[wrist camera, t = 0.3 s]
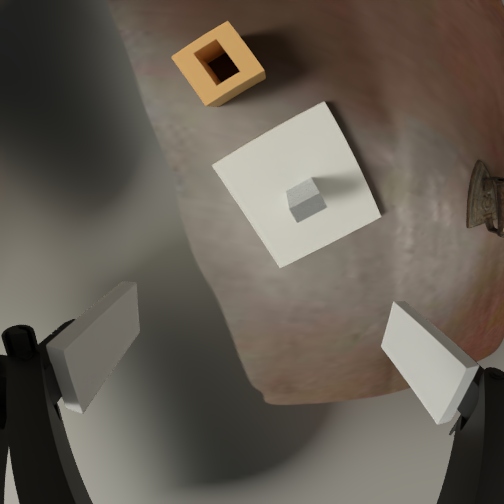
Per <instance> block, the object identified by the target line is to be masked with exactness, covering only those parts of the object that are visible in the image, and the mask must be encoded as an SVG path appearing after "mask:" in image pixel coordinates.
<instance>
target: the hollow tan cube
mask: <svg viewBox="0 0 504 504" xmlns="http://www.w3.org/2000/svg"><path fill="white" fill-rule="evenodd" d="M224 53H227V54H228V55H229V57H230V58H231V59H232V61H233V62H234V64H235V65H236V66H237V68H238V69H239V71H240V72H238V73H237V74H235V75H233V76H232V77H230V78H228V79H227V80H225V81H224V82H222V83H221V81H220V80H219V79H218V77H217V76H216V74H215V73H214V72H213V70H212V69H211V67H210V66H209V65H208V63H209V62H211V61H213V60H214V59H216V58H217V57H219V56H221V55H222V54H224ZM171 58H172V59H173V60H174V62H175V63H176V65H177V66H178V67H179V69H180V70H181V72H182V73H183V74H184V76H185V77H186V79H187V80H188V81H189V83H190V84H191V86H192V87H193V88H194V90H195V91H196V93H197V94H198V96H199V97H200V98H201V100H202V101H203V103H204V104H205V106H211V107H219V106H221V105H222V104H224V103H225V102H227V101H229V100H230V99H232V98H233V97H235V96H237V95H238V94H240V93H242V92H243V91H245V90H247V89H248V88H250V87H252V86H254V85H255V84H257V83H259V82H261V81H263V80H264V79H266V76H265V70H264V69H263V67H262V66H261V65H260V63H259V62H258V60H257V59H256V58H255V56H254V55H253V53H252V52H251V51H250V49H249V48H248V47H247V45H246V44H245V43H244V41H243V40H242V39H241V37H240V36H239V35H238V33H237V32H236V31H235V30H234V28H233V27H232V26H231V24H230V23H229V22H228V21H227V22H225V23H223V24H221V25H220V26H218V27H216V28H215V29H213V30H211V31H210V32H208V33H206V34H205V35H203V36H202V37H200V38H198V39H197V40H195V41H194V42H192V43H191V44H189V45H188V46H186V47H185V48H183V49H182V50H180V51H179V52H178V53H176V54H175V55H173V56H172V57H171Z"/></svg>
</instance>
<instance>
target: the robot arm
mask: <svg viewBox="0 0 504 504" xmlns="http://www.w3.org/2000/svg"><path fill="white" fill-rule="evenodd" d="M139 332H140V328H139V317H138V302H137V283H132V282H124V281H123V282H122V283H120V284H119V285H118V286H116V287H115V288H114V289H113V290H111V291H110V292H109V293H108V294H107V295H105V296H104V297H103V298H102V299H100V300H99V301H98V302H97V303H95V304H94V305H93V306H92V307H90V308H89V309H88V310H87V311H85V312H84V313H83V314H82V315H81V316H79V317H78V318H77V319H72V320H70V321H68V322H65V323H64V324H62V325H61V326H60V327H59V328H58V329H57V330H55V331H54V332H53V333H52V334H50V335H49V336H48V337H47V338H46V339H44V340H43V341H42V342H41V343H40V344H37V340H36V336H35V332H34V329H33V328H32V327H30V326H27V325H16V326H12V327H10V328H7V329H6V330H5V331H4V332H3V333H2V340H3V343H4V346H5V349H6V353H7V356H6V355H0V504H4V487H5V473H6V464H7V455H8V448H9V449H10V457H11V464H12V470H13V475H14V481H15V486H16V490H17V494H18V499H19V503H20V504H93V503H92V501H91V499H90V497H89V495H88V492H87V490H86V488H85V485H84V483H83V480H82V478H81V476H80V473H79V470H78V468H77V465H76V462H75V459H74V456H73V454H72V451H71V448H70V445H69V441H68V439H67V435H66V431H65V428H64V424H63V420H62V417H61V413H60V409H59V406H58V404H57V402H58V401H59V399H60V398H61V397H62V398H63V400H64V403H65V406H66V408H68V409H71V410H73V411H76V412H79V413H82V414H83V413H84V412H85V410H86V409H87V407H88V406H89V404H90V403H91V401H92V400H93V398H94V397H95V395H96V394H97V392H98V391H99V389H100V388H101V386H102V385H103V383H104V382H105V381H106V379H107V378H108V376H109V375H110V373H111V372H112V370H113V369H114V368H115V366H116V365H117V363H118V362H119V360H120V359H121V357H122V356H123V355H124V353H125V352H126V350H127V349H128V348H129V346H130V345H131V343H132V342H133V341H134V339H135V338H136V336H137V335H138V334H139ZM381 347H382V349H383V350H384V351H385V352H386V354H387V355H388V356H389V358H390V359H391V361H392V362H393V363H394V365H395V366H396V367H397V369H398V370H399V371H400V373H401V374H402V375H403V377H404V378H405V380H406V381H407V382H408V384H409V385H410V386H411V388H412V389H413V391H414V392H415V393H416V395H417V396H418V398H419V399H420V400H421V402H422V403H423V405H424V406H425V408H426V409H427V411H428V412H429V413H430V415H431V416H432V418H433V419H434V421H435V422H436V424H437V425H438V424H442V423H445V422H448V421H451V419H452V417H453V416H454V414H455V412H456V411H457V410H458V411H459V412H460V413H461V415H460V417H459V418H458V420H457V422H456V423H455V425H454V427H453V428H452V430H451V431H450V433H449V435H451V434H452V433H453V432H454V431H455V435H454V441H453V447H452V451H451V456H450V460H449V464H448V468H447V472H446V476H445V479H444V483H443V486H442V490H441V492H440V496H439V499H438V502H437V504H504V372H503V371H501V370H499V369H497V368H492V367H489V368H486V369H485V370H484V369H483V368H482V367H481V366H480V365H479V364H478V363H477V362H476V361H475V360H473V359H472V358H471V357H470V356H468V354H467V353H466V352H464V351H463V350H462V349H461V348H460V347H459V346H458V345H456V344H455V343H454V342H453V341H452V340H450V339H449V338H448V337H447V336H446V335H445V334H443V333H442V332H441V331H440V330H439V329H438V328H436V327H435V326H434V325H433V324H432V323H431V322H429V321H428V320H427V319H426V318H425V317H423V316H422V315H421V314H420V313H419V312H417V311H416V310H415V309H414V308H412V307H411V306H410V305H409V304H408V303H406V302H405V301H393V305H392V309H391V313H390V317H389V320H388V324H387V328H386V331H385V335H384V338H383V342H382V345H381Z"/></svg>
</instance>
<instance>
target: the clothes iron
mask: <svg viewBox="0 0 504 504" xmlns="http://www.w3.org/2000/svg"><path fill="white" fill-rule="evenodd" d="M493 180H494V181H495V183H496V184H497V200H498V229H496V228H495V227H494V225H493V221H492V220H494V219H497V207H496V197H495V191H494V187H493V183H492V181H493ZM466 222H467V224H466V225H467V228H472V227H475V226H478V225H481V224H484V223H486V227H487V229H488V231H490V232H493V233H496V234H497V235H498V236H500V237H504V178H500V177H492V178H491V177H490V174H489V172H488V170H487V168H486V167H485V165H484V164H483V163H482V162H481V161H480V160H478V161H477V162H476V164H475V167H474V169H473V172H472V176H471V180H470V186H469V192H468V200H467V221H466Z"/></svg>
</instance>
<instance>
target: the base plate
mask: <svg viewBox="0 0 504 504" xmlns="http://www.w3.org/2000/svg"><path fill="white" fill-rule="evenodd" d="M212 166H213V168H214V169H215V171H216V172H217V174H218V175H219V177H220V178H221V180H222V181H223V183H224V184H225V186H226V187H227V189H228V190H229V192H230V193H231V195H232V196H233V198H234V199H235V201H236V202H237V204H238V205H239V207H240V208H241V210H242V211H243V213H244V214H245V216H246V217H247V219H248V220H249V222H250V223H251V225H252V226H253V228H254V229H255V231H256V232H257V234H258V235H259V237H260V238H261V240H262V241H263V243H264V244H265V246H266V247H267V249H268V251H269V252H270V254H271V255H272V257H273V258H274V260H275V261H276V263H277V264H278V266H279V267H280V268H282V267H284V266H286V265H288V264H290V263H292V262H294V261H296V260H298V259H300V258H302V257H304V256H306V255H308V254H310V253H312V252H314V251H316V250H318V249H320V248H322V247H324V246H326V245H328V244H330V243H332V242H334V241H336V240H338V239H340V238H342V237H343V236H345V235H347V234H349V233H351V232H353V231H355V230H357V229H359V228H361V227H363V226H365V225H367V224H369V223H371V222H372V221H374V220H376V219H378V218H380V217H381V215H380V213H379V210H378V208H377V205H376V203H375V201H374V198H373V196H372V194H371V191H370V189H369V187H368V185H367V182H366V180H365V178H364V176H363V174H362V172H361V169H360V167H359V165H358V163H357V161H356V159H355V157H354V155H353V153H352V151H351V149H350V147H349V145H348V143H347V141H346V139H345V137H344V136H343V134H342V132H341V130H340V128H339V126H338V124H337V123H336V121H335V119H334V117H333V115H332V114H331V112H330V110H329V108H328V107H327V105H326V103H325V102H321V103H319V104H317V105H315V106H313V107H311V108H309V109H307V110H306V111H304V112H302V113H300V114H298V115H296V116H294V117H292V118H290V119H289V120H287V121H285V122H283V123H281V124H279V125H278V126H276V127H274V128H272V129H271V130H269V131H267V132H265V133H264V134H262V135H260V136H258V137H257V138H255V139H253V140H252V141H250V142H248V143H246V144H245V145H243V146H241V147H240V148H238V149H237V150H235V151H233V152H232V153H230V154H228V155H227V156H225V157H224V158H222V159H221V160H219V161H217V162H216V163H214V164H213V165H212ZM309 178H312V180H313V182H314V183H315V185H316V187H317V189H318V190H319V192H320V194H321V196H322V198H323V200H324V202H325V203H326V205H327V208H325V209H323V210H322V211H320V212H318V213H316V214H314V215H312V216H310V217H308V218H306V219H304V220H302V221H301V222H299V223H297V222H296V220H295V218H294V216H293V215H292V213H291V211H290V210H289V205H288V199H287V193H286V191H287V190H289V189H291V188H292V187H294V186H296V185H298V184H300V183H302V182H304V181H305V180H307V179H309Z"/></svg>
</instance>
